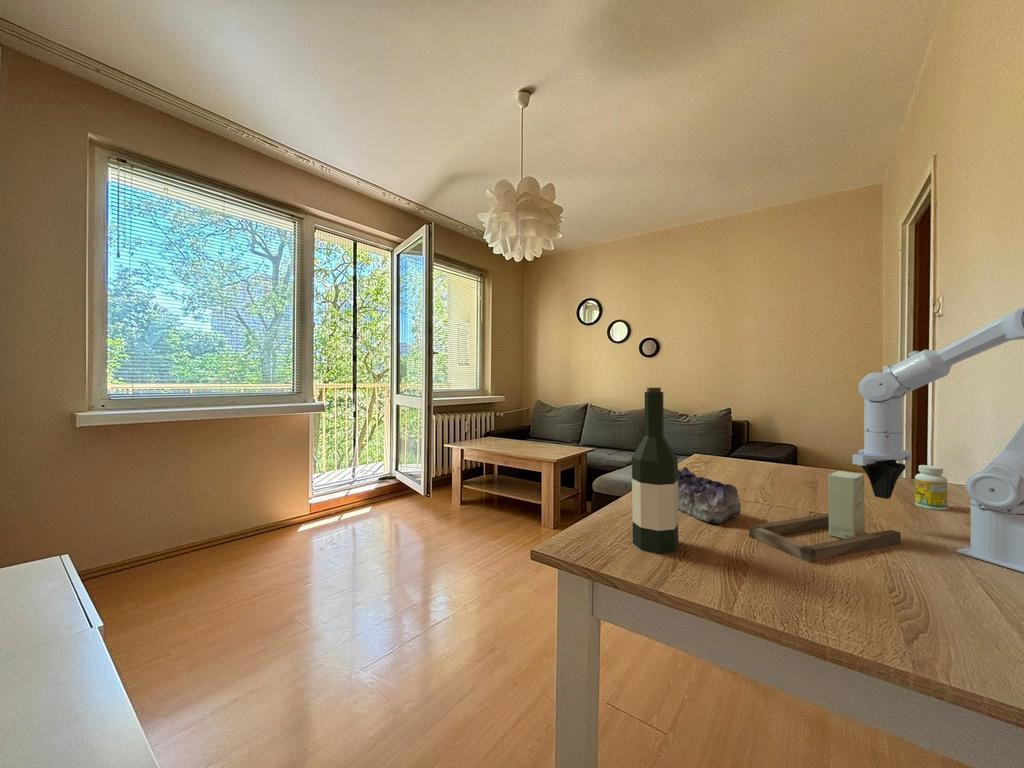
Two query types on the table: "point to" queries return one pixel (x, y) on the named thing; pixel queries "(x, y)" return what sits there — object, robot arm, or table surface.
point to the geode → (706, 498)
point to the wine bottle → (655, 483)
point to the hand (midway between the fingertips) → (882, 497)
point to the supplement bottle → (931, 488)
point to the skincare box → (846, 504)
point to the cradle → (772, 536)
